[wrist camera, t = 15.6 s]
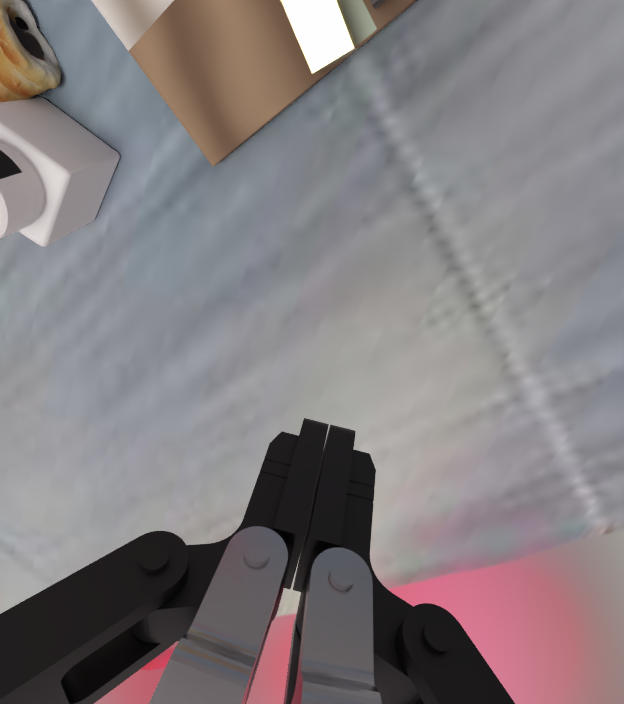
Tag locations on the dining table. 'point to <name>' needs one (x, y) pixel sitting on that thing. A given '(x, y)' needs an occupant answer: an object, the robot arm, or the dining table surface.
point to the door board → (228, 59)
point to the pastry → (24, 55)
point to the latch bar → (321, 31)
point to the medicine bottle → (49, 171)
